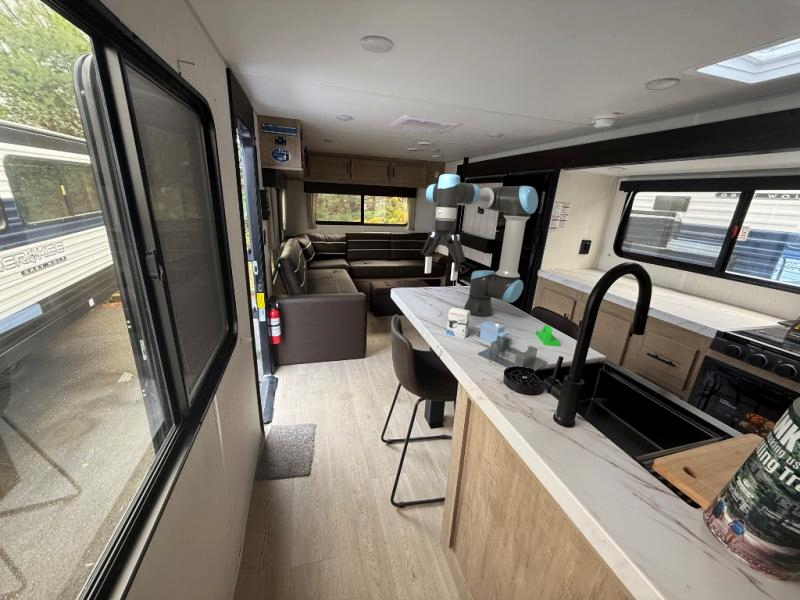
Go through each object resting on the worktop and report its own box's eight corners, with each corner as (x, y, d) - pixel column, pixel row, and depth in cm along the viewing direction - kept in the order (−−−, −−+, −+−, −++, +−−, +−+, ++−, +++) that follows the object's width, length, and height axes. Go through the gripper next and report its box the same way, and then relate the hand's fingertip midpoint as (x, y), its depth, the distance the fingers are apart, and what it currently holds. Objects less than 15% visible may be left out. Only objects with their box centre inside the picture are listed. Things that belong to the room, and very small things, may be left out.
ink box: (445, 334, 137) (448, 309, 133) (449, 331, 141) (452, 307, 137) (464, 339, 133) (467, 313, 130) (467, 335, 137) (470, 310, 134)
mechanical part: (558, 346, 131) (562, 329, 129) (544, 345, 131) (548, 328, 129) (548, 335, 142) (552, 319, 140) (535, 334, 143) (538, 318, 141)
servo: (481, 335, 138) (483, 317, 136) (507, 345, 129) (510, 326, 126) (474, 337, 135) (477, 319, 133) (500, 348, 126) (504, 329, 123)
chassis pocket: (500, 344, 130) (502, 332, 128) (547, 363, 115) (550, 349, 114) (477, 354, 120) (479, 341, 118) (526, 376, 105) (528, 361, 104)
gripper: (414, 217, 119) (411, 271, 125) (466, 222, 101) (459, 284, 107) (428, 217, 124) (424, 269, 130) (479, 222, 106) (472, 282, 112)
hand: (440, 276), depth 119 cm, fingers open, 13 cm apart
